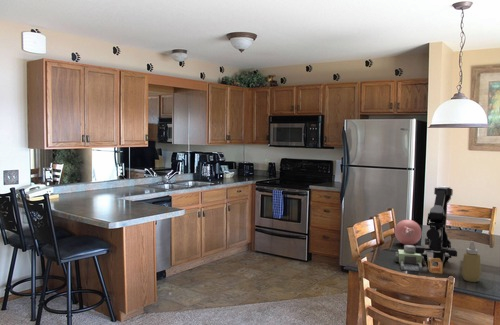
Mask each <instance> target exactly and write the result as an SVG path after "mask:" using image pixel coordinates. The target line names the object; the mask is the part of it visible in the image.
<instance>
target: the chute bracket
mask: <svg viewBox="0 0 500 325" xmlns="http://www.w3.org/2000/svg"><path fill="white" fill-rule="evenodd" d="M399 265H400V270H401V271H409V272H418V273H419V272H421V273H423V264H422V265H421V262H420V261H418V264H411V263H403V260H400V263H399Z"/></svg>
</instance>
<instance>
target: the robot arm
mask: <svg viewBox="0 0 500 325" xmlns="http://www.w3.org/2000/svg"><path fill="white" fill-rule="evenodd" d="M433 190H434V192H433V193H434V194H433V195H435V198H434V204H433V206H432V207H431V208H429V209H430V210H429V212H428V213H427V219H426V227H427V226H429V229H428V230H427V232H426V238H424V245H416V244H415V245H414V246H415V253H417V254H421V255H422V256H423V257H424V259H425V266H426V268H427V269H428V258H429V257H428V253H432V258H440V259H441V261H442V263H443V269H444V268H445V266H446V265H447V263H448V262H449V259H451V258H452V257H455V258H456V257H458V251H457V249H456V248H454V247H452V242H451V240H450V238H449V234H448V232H447V220H448V218H447V216H448V203H449V202H450V201H451V199H452V196H453V193H454V190H453V188H451V186H444V185H443V186H442V185H438V186H437V187H434V189H433ZM424 246H427V247H424Z"/></svg>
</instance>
